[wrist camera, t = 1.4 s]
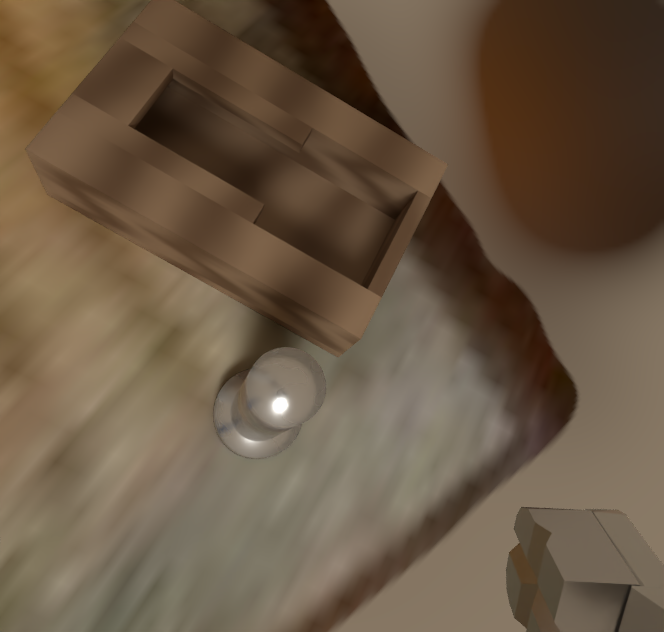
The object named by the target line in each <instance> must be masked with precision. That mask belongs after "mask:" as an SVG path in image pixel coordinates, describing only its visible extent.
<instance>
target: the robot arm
mask: <svg viewBox="0 0 664 632" xmlns="http://www.w3.org/2000/svg"><path fill="white" fill-rule="evenodd" d="M514 530H515V533H516V535H517V538H518V540H519V542H520V543H519V544H518V545H517V546H516V547H514V549H512V550H511V551H510V552H509V557H508V562H507V568H506V584H507V593H508V599H509V603H510V606H511V609H512V612H513V615H514V618H515V619H516V620H517V621H519V622H520V623H521V624H522V625H523V626H524V627H525V628H526V629H527V631H526V632H664V565H663V564H662V563H661V561H660V560H659V559H658V557H657V556H656V555H655V553H654V552H653V551H652V549H651V548H650V546H649V545H648V544H647V542H646V541H645V540H644V538H643V537H642V536H641V534H640V533H639V532H638V530H637V529H636V527H635V526H634V525H633V523H632V522H631V521H630V519H629V518H628V517H627V515H626V514H624V513H623V512H621V511H619V510H607V509H585V510H573V509H551V508H531V507H521V508H520V510H519V512H518V514H517V516H516V521H515V526H514Z"/></svg>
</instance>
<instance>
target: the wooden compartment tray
mask: <svg viewBox="0 0 664 632" xmlns="http://www.w3.org/2000/svg"><path fill="white" fill-rule="evenodd" d="M25 150H26V152H27V154H28V156H29V158H30V160H31V162H32V164H33V166H34V168H35V170H36V172H37V174H38V176H39V178H40V181H41V183H42V185H43V187H44V189H45V191H46V193H47V195H49V196H51V197H53V198H55V199H56V200H58V201H60V202H62V203H63V204H65V205H67V206H69V207H71V208H72V209H74V210H76V211H78V212H80V213H81V214H83V215H85V216H87V217H88V218H90V219H92V220H94V221H96V222H97V223H99V224H101V225H103V226H105V227H106V228H108V229H110V230H112V231H113V232H115V233H117V234H119V235H121V236H122V237H124V238H126V239H128V240H129V241H131V242H133V243H135V244H137V245H138V246H140V247H142V248H144V249H146V250H147V251H149V252H151V253H153V254H154V255H156V256H158V257H160V258H162V259H163V260H165V261H167V262H169V263H171V264H172V265H174V266H176V267H178V268H179V269H181V270H183V271H185V272H187V273H188V274H190V275H192V276H194V277H196V278H197V279H199V280H201V281H203V282H204V283H206V284H208V285H210V286H212V287H213V288H215V289H217V290H219V291H220V292H222V293H224V294H226V295H228V296H229V297H231V298H233V299H235V300H237V301H238V302H240V303H242V304H244V305H245V306H247V307H249V308H251V309H253V310H254V311H256V312H258V313H260V314H262V315H263V316H265V317H267V318H269V319H270V320H272V321H274V322H276V323H278V324H279V325H281V326H283V327H285V328H287V329H288V330H290V331H292V332H294V333H295V334H297V335H299V336H301V337H303V338H304V339H306V340H308V341H310V342H311V343H313V344H315V345H317V346H319V347H320V348H322V349H324V350H326V351H328V352H329V353H331V354H333V355H335V356H336V357H339V356H340V355H342V354H343V353H344V352H345V351H347V350H348V349H349V348H350V347H351V346H353V345H354V344H355V343H356V342H358V341H359V340H360V339H361V338H362V336H363V334H364V332H365V330H366V328H367V326H368V324H369V322H370V320H371V318H372V316H373V314H374V312H375V310H376V308H377V306H378V304H379V302H380V300H381V298H382V296H383V294H384V292H385V290H386V288H387V286H388V284H389V282H390V280H391V278H392V276H393V274H394V272H395V270H396V268H397V266H398V264H399V262H400V260H401V258H402V256H403V254H404V252H405V250H406V248H407V246H408V244H409V242H410V240H411V238H412V236H413V234H414V232H415V230H416V228H417V226H418V224H419V222H420V220H421V218H422V216H423V214H424V212H425V210H426V208H427V206H428V204H429V202H430V200H431V198H432V196H433V194H434V192H435V190H436V188H437V186H438V184H439V182H440V180H441V178H442V176H443V174H444V172H445V170H446V167H447V166H448V164H446V163H445V162H443V161H441V160H440V159H438V158H436V157H435V156H433V155H431V154H430V153H428V152H426V151H424V150H423V149H421V148H420V147H418V146H416V145H415V144H413V143H411V142H410V141H408V140H406V139H405V138H403V137H401V136H400V135H398V134H396V133H395V132H393V131H391V130H390V129H388V128H386V127H385V126H383V125H381V124H380V123H378V122H376V121H375V120H373V119H371V118H370V117H368V116H366V115H365V114H363V113H361V112H360V111H358V110H356V109H355V108H353V107H351V106H350V105H348V104H346V103H345V102H343V101H341V100H340V99H338V98H336V97H335V96H333V95H331V94H330V93H328V92H326V91H325V90H323V89H321V88H320V87H318V86H316V85H315V84H313V83H311V82H310V81H308V80H306V79H305V78H303V77H301V76H300V75H298V74H296V73H295V72H293V71H291V70H290V69H288V68H286V67H285V66H283V65H281V64H280V63H278V62H276V61H275V60H273V59H271V58H270V57H268V56H266V55H265V54H263V53H261V52H260V51H258V50H256V49H255V48H253V47H251V46H250V45H248V44H246V43H245V42H243V41H241V40H240V39H238V38H236V37H235V36H233V35H231V34H230V33H228V32H226V31H225V30H223V29H221V28H220V27H218V26H216V25H215V24H213V23H211V22H210V21H208V20H206V19H205V18H203V17H201V16H200V15H198V14H196V13H195V12H193V11H191V10H190V9H188V8H186V7H185V6H183V5H181V4H180V3H178V2H176V1H175V0H151V1H150V2H149V4H148V5H147V6H146V7H145V8H144V9H143V11H142V12H141V13H140V14H139V15H138V17H137V18H136V19H135V20H134V21H133V22H132V24H131V25H130V26H129V27H128V28H127V29H126V31H125V32H124V33H123V34H122V35H121V37H120V38H119V39H118V40H117V41H116V42H115V44H114V45H113V46H112V47H111V48H110V49H109V51H108V52H107V53H106V54H105V55H104V56H103V58H102V59H101V60H100V61H99V62H98V64H97V65H96V66H95V67H94V68H93V69H92V71H91V72H90V73H89V74H88V75H87V76H86V78H85V79H84V80H83V81H82V82H81V84H80V85H79V86H78V87H77V88H76V89H75V91H74V92H73V93H72V94H71V95H70V96H69V98H68V99H67V100H66V101H65V102H64V104H63V105H62V106H61V107H60V108H59V109H58V111H57V112H56V113H55V114H54V115H53V116H52V118H51V119H50V120H49V121H48V122H47V124H46V125H45V126H44V127H43V128H42V129H41V131H40V132H39V133H38V134H37V135H36V136H35V138H34V139H33V140H32V141H31V142H30V144H29V145H28V146H27V147H26V148H25Z"/></svg>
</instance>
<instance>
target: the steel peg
mask: <svg viewBox="0 0 664 632" xmlns="http://www.w3.org/2000/svg"><path fill="white" fill-rule="evenodd" d="M325 394H326V381H325V376H324V373H323V371H322V369H321V367H320V365H319V364H318V363H317V361H316V360H315V359H314V358H313V357H312V356H310V355H309V354H308V353H306V352H304V351H302V350H299V349H296V348H292V347H281V348H276V349H273V350H270V351H268V352H266V353H265V354H263V355H262V356H261V357H260V358H259V359H258V360H257V361H256V362H255V364H254V365H253V367H252V368H251V369H248V370H245V371H242V372H240V373H238V374H236V375H234V376H233V377H232V378H230V379H229V380H228V381H227V382H226V383H225V384H224V386H223V387H222V388H221V390H220V392H219V394H218V396H217V398H216V401H215V404H214V409H213V422H214V427H215V430H216V433H217V435H218V437H219V438H220V440H221V441H222V443H223V444H224V445H225V446H226V447H227V448H228V449H229V450H231V451H232V452H234V453H235V454H237V455H240V456H242V457H245V458H251V459H261V458H267V457H270V456H273V455H276V454H278V453H280V452H282V451H283V450H285V449H286V448H287V447H288V446H289V445H290V444H291V443H292V442H293V441H294V440H295V438H296V437H297V435H298V433H299V431H300V429H301V425H302V423H304V422H306V421H308V420H309V419H311V418H312V417H313V416H314V415H315V414H316V413H317V412H318V410H319V409H320V407H321V406H322V404H323V401H324V398H325Z"/></svg>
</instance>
